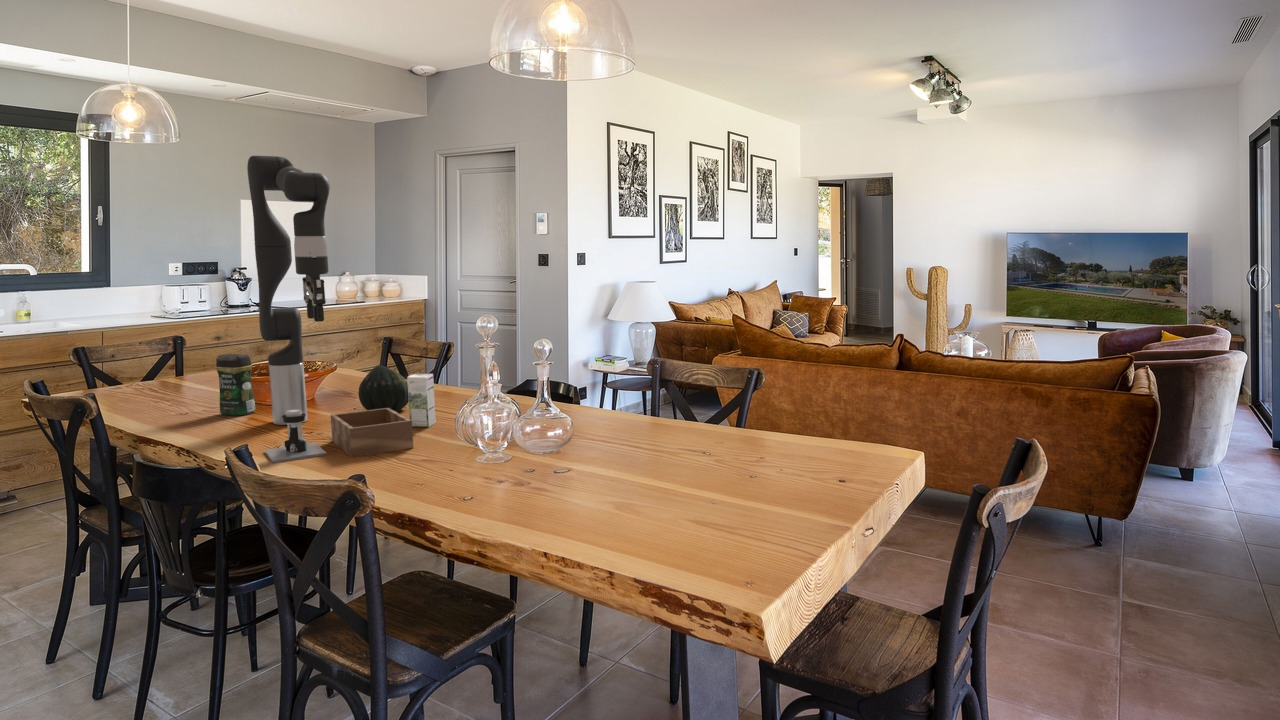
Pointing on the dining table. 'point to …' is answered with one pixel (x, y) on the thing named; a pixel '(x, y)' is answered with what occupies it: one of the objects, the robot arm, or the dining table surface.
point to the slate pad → (294, 453)
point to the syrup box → (421, 400)
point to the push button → (294, 431)
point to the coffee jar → (235, 384)
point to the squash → (383, 390)
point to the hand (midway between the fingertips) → (315, 319)
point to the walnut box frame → (371, 432)
